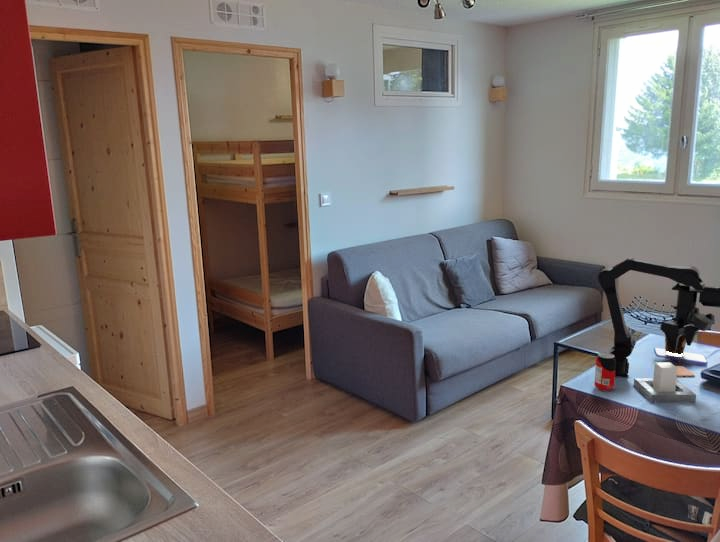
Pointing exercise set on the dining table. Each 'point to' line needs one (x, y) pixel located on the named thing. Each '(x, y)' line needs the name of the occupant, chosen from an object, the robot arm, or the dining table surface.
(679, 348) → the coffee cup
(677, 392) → the bore housing
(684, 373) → the terracotta tile
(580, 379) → the dining table surface
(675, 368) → the end plug
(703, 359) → the dining table surface
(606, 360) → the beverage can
